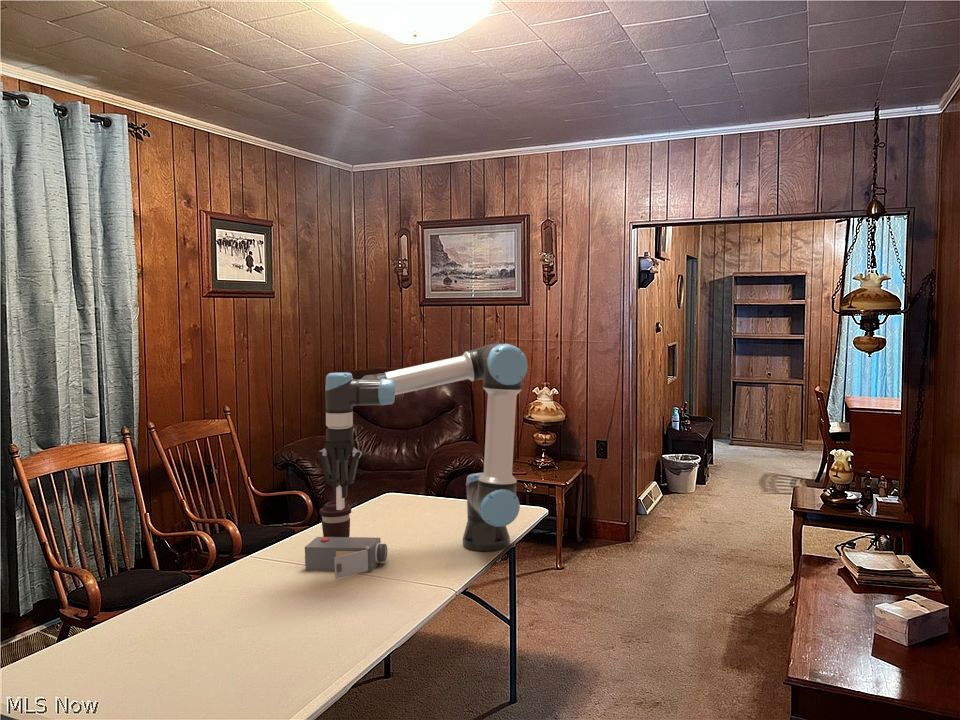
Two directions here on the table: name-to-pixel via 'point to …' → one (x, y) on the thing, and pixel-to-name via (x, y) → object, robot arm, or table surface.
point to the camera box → (342, 551)
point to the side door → (351, 564)
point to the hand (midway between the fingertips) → (340, 508)
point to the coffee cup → (335, 520)
